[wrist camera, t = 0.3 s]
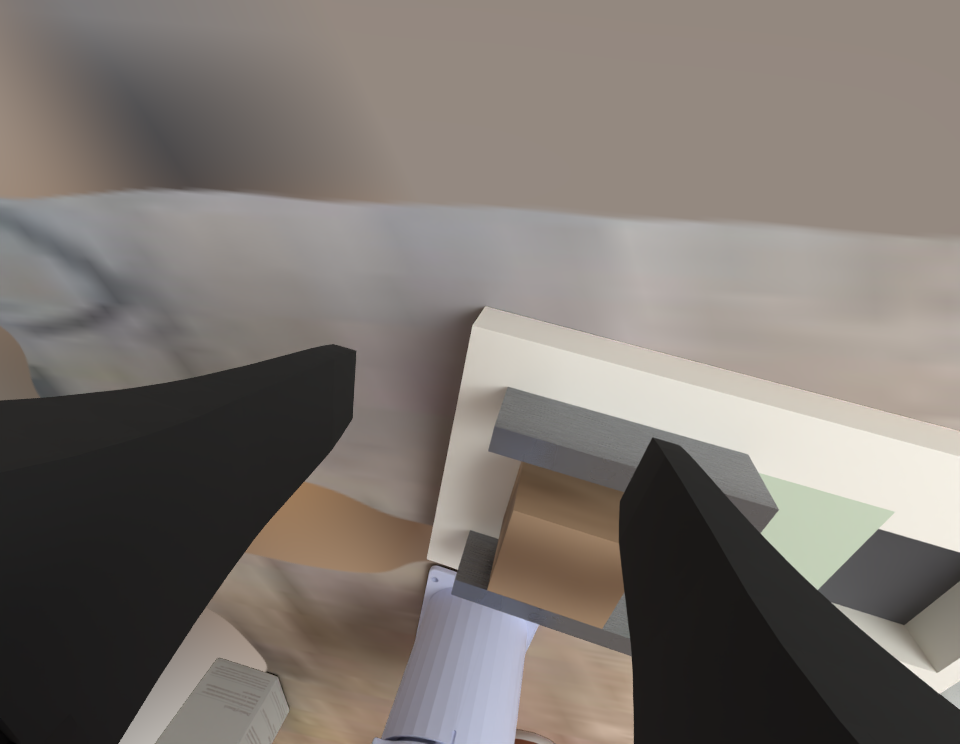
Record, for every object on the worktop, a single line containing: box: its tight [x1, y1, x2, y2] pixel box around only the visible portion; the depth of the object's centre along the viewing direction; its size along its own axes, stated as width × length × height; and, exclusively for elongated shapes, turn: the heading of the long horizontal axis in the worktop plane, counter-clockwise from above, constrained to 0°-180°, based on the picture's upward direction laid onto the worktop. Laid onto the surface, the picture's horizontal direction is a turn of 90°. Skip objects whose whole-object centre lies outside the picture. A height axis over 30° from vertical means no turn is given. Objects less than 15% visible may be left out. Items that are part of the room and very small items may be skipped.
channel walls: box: [451, 387, 779, 656], centre depth 18 cm, size 10×10×3 cm
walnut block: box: [487, 461, 624, 629], centre depth 18 cm, size 5×5×4 cm
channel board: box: [427, 306, 960, 694], centre depth 20 cm, size 15×26×2 cm, turn 79°
